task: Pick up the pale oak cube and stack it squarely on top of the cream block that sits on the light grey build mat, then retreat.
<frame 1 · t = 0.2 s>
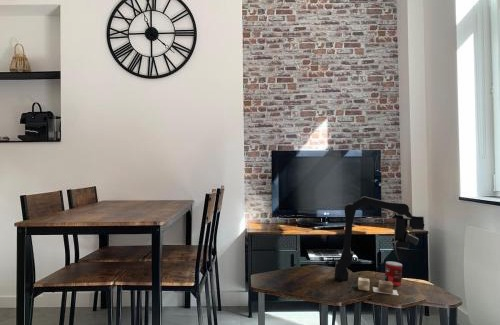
hand: (398, 259, 189), 14 cm above the table, fingers open, 9 cm apart
build mat: (385, 292, 180), on the table
oak cube: (363, 289, 182), on the table
canned food: (392, 285, 195), on the table
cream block: (385, 290, 180), point 1 cm above the table, touching build mat
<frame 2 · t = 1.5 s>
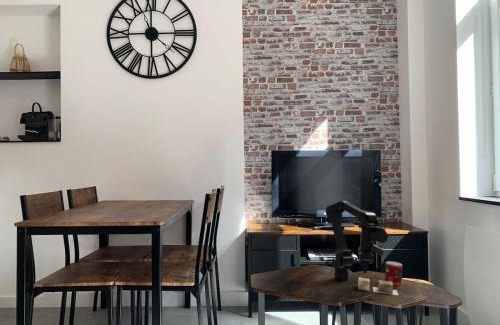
hand: (364, 271, 182), 9 cm above the table, fingers open, 9 cm apart
nothing on the table moved.
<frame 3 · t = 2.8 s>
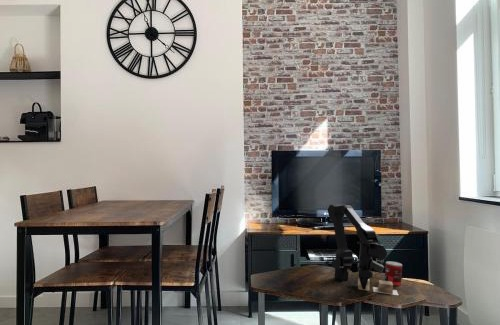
hand: (363, 287, 182), 1 cm above the table, fingers closed on oak cube, 5 cm apart
oak cube: (363, 289, 182), on the table, touching gripper
everything else where it was.
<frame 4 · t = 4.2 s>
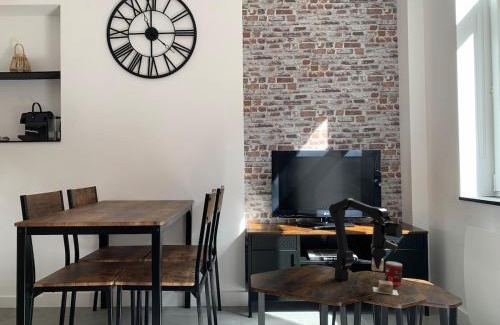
hand: (377, 267, 181), 11 cm above the table, fingers closed on oak cube, 5 cm apart
oak cube: (377, 269, 181), point 10 cm above the table, touching gripper
everything else where it was.
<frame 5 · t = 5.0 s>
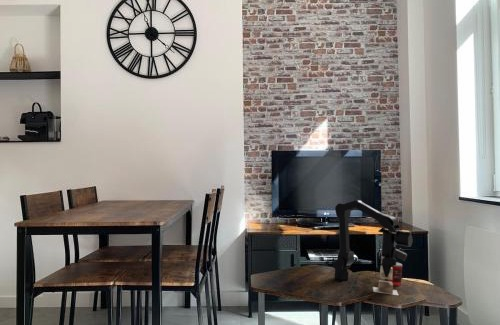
hand: (386, 275, 181), 8 cm above the table, fingers closed on oak cube, 5 cm apart
oak cube: (386, 277, 181), point 7 cm above the table, touching gripper
everything else where it was.
when the fingers open (7 cm above the table, at t = 5.6 s): oak cube drops 1 cm, resting on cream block.
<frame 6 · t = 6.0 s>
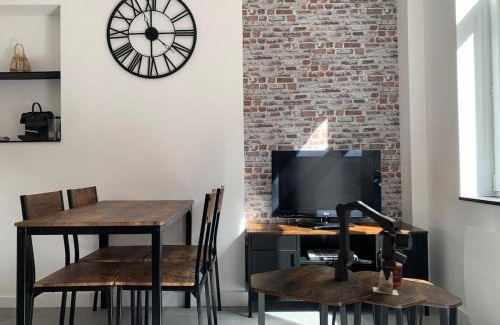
hand: (386, 277, 180), 7 cm above the table, fingers open, 9 cm apart
oak cube: (385, 282, 180), point 5 cm above the table, touching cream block
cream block: (385, 290, 180), point 1 cm above the table, touching build mat, oak cube
everything else where it was.
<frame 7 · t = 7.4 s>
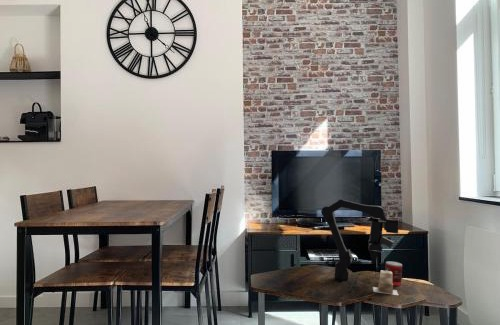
hand: (373, 261, 191), 12 cm above the table, fingers open, 9 cm apart
nothing on the table moved.
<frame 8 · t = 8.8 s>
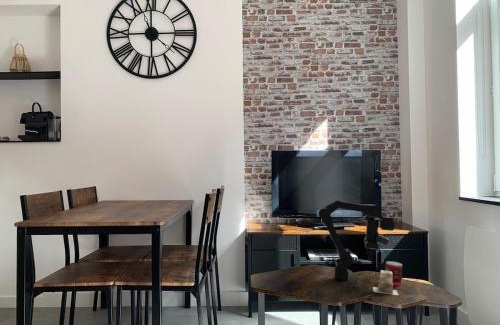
hand: (370, 259, 195), 12 cm above the table, fingers open, 9 cm apart
nothing on the table moved.
at the end: oak cube 0.0 cm off-centre on the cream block, point 4.0 cm above the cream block's base; oak cube tilted 0°; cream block moved 0.0 cm from its start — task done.
